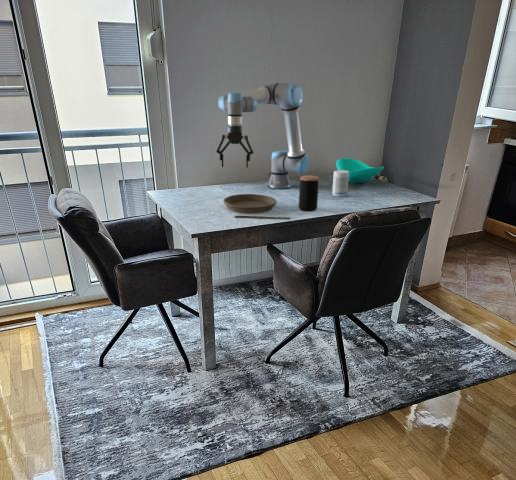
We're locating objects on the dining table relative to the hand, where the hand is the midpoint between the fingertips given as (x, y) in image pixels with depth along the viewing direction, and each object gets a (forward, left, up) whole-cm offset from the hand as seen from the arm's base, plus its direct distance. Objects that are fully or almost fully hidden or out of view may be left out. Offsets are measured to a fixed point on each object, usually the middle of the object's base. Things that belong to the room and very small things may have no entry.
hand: (234, 167), depth 261 cm
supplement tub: (-40, +62, -24) cm, 78 cm away
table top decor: (-80, +77, -24) cm, 113 cm away
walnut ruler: (+16, +17, -23) cm, 33 cm away
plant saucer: (-4, +8, -24) cm, 25 cm away
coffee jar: (-4, +42, -24) cm, 48 cm away
